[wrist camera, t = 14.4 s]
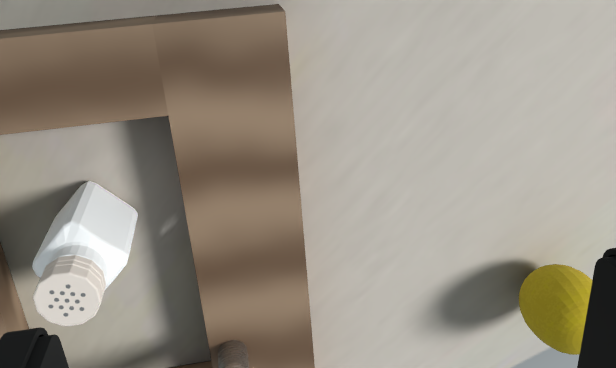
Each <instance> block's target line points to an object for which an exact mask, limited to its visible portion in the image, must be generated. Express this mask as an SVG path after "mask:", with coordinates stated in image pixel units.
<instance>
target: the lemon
mask: <svg viewBox="0 0 616 368" xmlns="http://www.w3.org/2000/svg"><path fill="white" fill-rule="evenodd" d="M591 286H592V280H591V279H590V278H589V277H588V276H587V275H585V274H584V273H582V272H581V271H579V270H576V269H574V268H572V267H569V266H566V265H557V264H554V265H546V266H543V267H540V268H538V269H536V270H534V271H533V272H532V273H530V274H529V275H528V276H527V278H526V279H525V280H524V282H523V284H522V286H521V288H520V293H519V307H520V311H521V313H522V316H523V318H524V320H525V322H526V324H527V325H528V327H529V328H530V329H531V330H532V331H533V332H534V334H535V335H536V336H537V337H538V338H539V339H540V340H542V341H543V342H544V343H545V344H547V345H549V346H550V347H552V348H554V349H556V350H557V351H560V352H563V353H568V354H580V349H581V343H582V338H583V332H584V326H585V321H586V315H587V309H588V303H589V298H590V292H591Z"/></svg>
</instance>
